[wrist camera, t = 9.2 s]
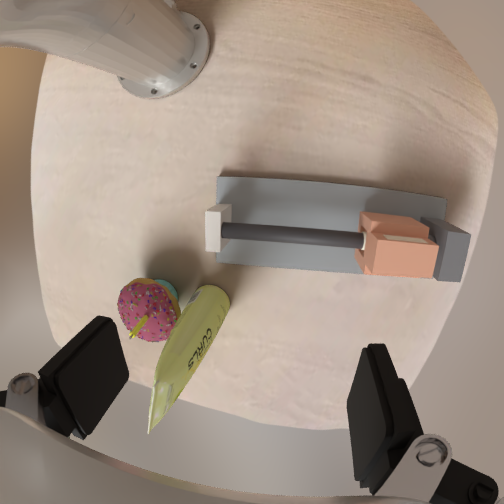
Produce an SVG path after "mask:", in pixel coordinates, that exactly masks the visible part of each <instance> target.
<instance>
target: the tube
mask: <svg viewBox="0 0 504 504" xmlns="http://www.w3.org/2000/svg"><path fill="white" fill-rule="evenodd" d="M229 307H230V301H229V298H228V296H227V294H226V293H225V292H224V291H223V290H222V289H220V288H219V287H217V286H214V285H205V286H202V287H200V288H198V289H197V290H196V292H195V293H194V294H193V296H192V298H191V299H190V301H189V302H188V304H187V305H186V307H185V309H184V310H183V312H182V314H181V315H180V317H179V319H178V320H177V322H176V324H175V326H174V328H173V329H172V331H171V333H170V335H169V337H168V339H167V342H166V344H165V346H164V348H163V351H162V353H161V356H160V358H159V361H158V364H157V367H156V370H155V375H154V383H153V389H152V395H151V401H150V409H149V427H148V434H149V433H150V431H151V429H152V428H154V427H155V426H156V425H157V423H158V422H159V421H160V420H161V419H162V418H163V417H164V415H165V414H166V413H167V412H168V410H169V409H170V408H171V406H172V405H173V403H174V402H175V400H176V399H177V398H178V396H179V395H180V393H181V392H182V390H183V389H184V387H185V386H186V384H187V383H188V381H189V380H190V378H191V377H192V375H193V374H194V372H195V371H196V369H197V368H198V366H199V364H200V363H201V361H202V359H203V358H204V356H205V355H206V353H207V351H208V349H209V348H210V346H211V344H212V342H213V340H214V339H215V337H216V335H217V333H218V331H219V329H220V327H221V325H222V323H223V321H224V319H225V317H226V315H227V313H228V310H229Z"/></svg>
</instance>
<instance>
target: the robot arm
mask: <svg viewBox="0 0 504 504" xmlns="http://www.w3.org/2000/svg"><path fill="white" fill-rule="evenodd" d="M198 28H199V29H198ZM0 47H17V48H25V49H31V50H36V51H40V52H45V53H48V54H52V55H56V56H59V57H62V58H66V59H69V60H72V61H75V62H79V63H82V64H85V65H88V66H91V67H94V68H97V69H100V70H103V71H106V72H109V73H111V74H114V75H117V77H118V80H119V82H120V84H121V85H122V87H123V88H124V89H125V90H126V91H128V92H129V93H130V94H133V95H135V96H137V97H140V98H146V99H158V98H163V97H166V96H169V95H172V94H174V93H176V92H178V91H180V90H181V89H183V88H184V87H186V86H187V85H188V84H189V83H190V82H191V81H193V80H194V78H195V77H196V76H197V75H198V74H199V73H200V71H201V69H202V68H203V66H204V65H205V62H206V60H207V57H208V54H209V49H210V38H209V34H208V31H207V29H206V28H205V26H204V24H203V23H202V22H201V21H200V20H199V19H198V18H197V17H195V16H194V15H192V14H190V13H187V12H183V11H178V10H177V3H175V0H0ZM195 66H197V67H196V68H194V67H195ZM156 92H157V93H156ZM38 373H39V375H40V379H37V377H36V376H35V375H33V374H31V373H22V374H19V375H17V376H15V377H14V378H13V379H11V381H10V382H9V385H8V389H7V390H6V391H0V504H504V497H502V498H501V499H500V498H499V497H498V486H497V483H496V482H495V481H494V479H492V478H490V477H489V476H487V475H485V474H483V473H480V472H478V471H476V470H474V469H472V468H470V467H468V466H466V465H464V464H462V463H460V462H458V461H455V460H454V459H452V458H451V457H452V448H451V446H450V444H449V443H448V441H446V439H444V438H443V437H441V436H439V435H435V434H425V435H424V433H423V430H422V427H421V424H420V421H419V418H418V415H417V413H416V410H415V407H414V404H413V401H412V398H411V396H410V393H409V390H408V388H407V385H406V383H405V381H404V379H402V378H398V376H397V373H396V371H395V368H394V365H393V363H392V360H391V358H390V355H389V353H388V350H387V347H386V345H385V344H369V345H368V347H367V348H363V349H362V352H361V356H360V360H359V363H358V367H357V370H356V374H355V377H354V380H353V383H352V387H351V390H350V393H349V396H348V399H347V413H348V421H349V429H350V437H351V446H352V456H353V466H354V477H355V480H356V481H360V488H367V487H369V490H370V493H371V494H372V496H334V497H304V496H282V495H267V494H258V493H248V492H240V491H233V490H227V489H221V488H216V487H211V486H206V485H201V484H196V483H191V482H187V481H183V480H179V479H175V478H172V477H168V476H164V475H161V474H158V473H154V472H151V471H148V470H145V469H142V468H138V467H136V466H133V465H130V464H127V463H125V462H122V461H119V460H117V459H114V458H111V457H109V456H107V455H104V454H102V453H99V452H97V451H95V450H92V449H90V448H88V447H86V446H84V445H82V444H79V443H77V442H75V441H73V440H71V439H70V437H69V436H70V434H71V433H73V435H74V436H76V437H78V438H80V439H82V440H84V439H85V438H86V436H87V435H90V434H91V433H92V432H93V430H94V429H95V427H96V426H97V424H98V423H99V421H100V420H101V418H102V417H103V415H104V414H105V412H106V411H107V410H108V408H109V407H110V405H111V404H112V402H113V401H114V399H115V398H116V396H117V395H118V393H119V392H120V391H121V389H122V388H123V386H124V384H125V383H126V382H127V381H128V378H129V371H128V367H127V364H126V361H125V357H124V354H123V350H122V346H121V343H120V339H119V335H118V331H117V327H116V324H115V323H114V322H113V320H112V319H111V318H109V317H104V316H97V317H95V318H94V319H93V320H92V321H91V322H90V323H89V324H88V325H86V326H85V327H84V328H83V329H82V330H81V331H80V332H79V333H78V334H77V335H76V336H75V337H74V338H72V339H71V340H70V341H69V342H68V343H67V344H66V345H65V346H64V347H63V348H62V349H61V350H60V351H59V352H58V353H57V354H56V355H55V356H53V357H52V358H51V359H50V360H49V361H48V362H47V363H46V364H45V365H44V366H43V367H42V368H41V369H40V370H39V371H38Z"/></svg>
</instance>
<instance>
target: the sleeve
mask: <svg viewBox="0 0 504 504" xmlns="http://www.w3.org/2000/svg"><path fill="white" fill-rule="evenodd" d="M358 232H361V233H362V232H367V235H366V243H365V249H364V250H361V249H356V248H355V255H354V257H355V259H356V261H357V263H358V265H359V266H360V268H361V270H362V272H363V274H368V275H383V276H398V277H413V278H432V276H433V272H434V267H435V263H436V258H437V254H438V249H439V245H437V244H436V243H434V242H433V241H431V240H430V239H428V234H429V227H427V226H426V225H424V224H422V223H420V222H419V221H417V220H415V219H413V218H411V217H406V216H397V215H389V214H381V213H372V212H362V211H360V216H359V224H358Z"/></svg>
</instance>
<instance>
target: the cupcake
mask: <svg viewBox="0 0 504 504" xmlns="http://www.w3.org/2000/svg"><path fill="white" fill-rule="evenodd" d="M117 305H118V309H119V310H118V311H119V314H120V316H121V319H122V321H123V323H124V325H125V326H126V327H127V329H128V330H130V331H131V332H130V334H129V335H130V337H129V339H131V338H134V337H135V336H138V337H139V338H141V339H144V340H146V341H151V342H159V341H163V340H165V341H166V339H168V337H169V335H170V333H171V331H172V329H173V328H174V326H175V324H176V322H177V320H178V319H179V317H180V315H181V310H180V307H179V304H178V295H177V292H176V290H175V288H174V287H173V286H172V285H171V284H170V283H169V282H167V281H165V280H161V279H156V280H152V279H150V278H137V279H134V280H133V281H131V282H130V283H129V284H128V285H126V286H124V288H123V289H122V290H121V293H120V296H119V298H118V303H117Z"/></svg>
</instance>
